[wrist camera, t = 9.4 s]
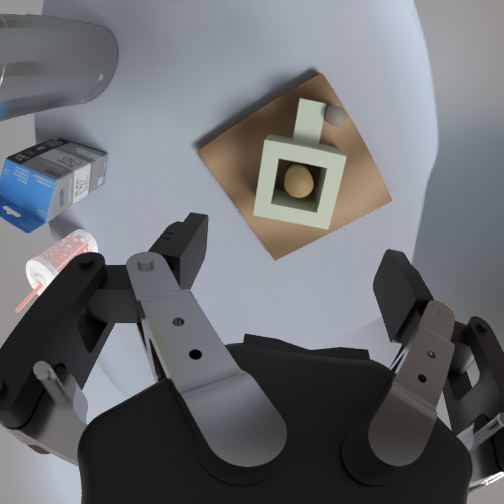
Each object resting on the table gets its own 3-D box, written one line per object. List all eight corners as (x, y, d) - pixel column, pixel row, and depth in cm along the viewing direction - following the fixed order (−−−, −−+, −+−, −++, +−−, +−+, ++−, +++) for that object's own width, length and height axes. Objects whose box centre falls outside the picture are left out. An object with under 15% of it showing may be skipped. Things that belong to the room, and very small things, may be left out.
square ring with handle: (323, 211, 25) (328, 229, 22) (258, 198, 26) (253, 215, 22) (346, 109, 20) (356, 110, 17) (275, 94, 21) (271, 92, 17)
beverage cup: (61, 235, 32) (-6, 295, 20) (83, 215, 30) (5, 278, 18) (86, 270, 35) (27, 338, 23) (110, 254, 33) (44, 328, 21)
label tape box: (110, 153, 26) (26, 193, 16) (104, 187, 28) (28, 238, 18) (56, 136, 25) (-24, 167, 15) (53, 166, 28) (-21, 205, 17)
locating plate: (199, 150, 25) (182, 160, 21) (320, 74, 20) (326, 67, 16) (275, 255, 30) (272, 280, 26) (389, 197, 25) (404, 215, 21)
